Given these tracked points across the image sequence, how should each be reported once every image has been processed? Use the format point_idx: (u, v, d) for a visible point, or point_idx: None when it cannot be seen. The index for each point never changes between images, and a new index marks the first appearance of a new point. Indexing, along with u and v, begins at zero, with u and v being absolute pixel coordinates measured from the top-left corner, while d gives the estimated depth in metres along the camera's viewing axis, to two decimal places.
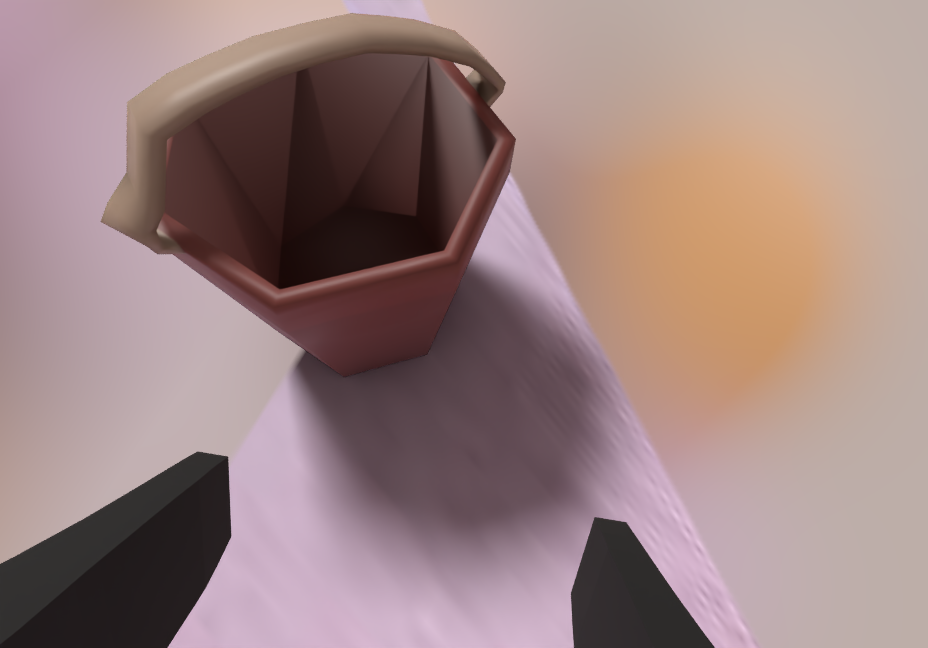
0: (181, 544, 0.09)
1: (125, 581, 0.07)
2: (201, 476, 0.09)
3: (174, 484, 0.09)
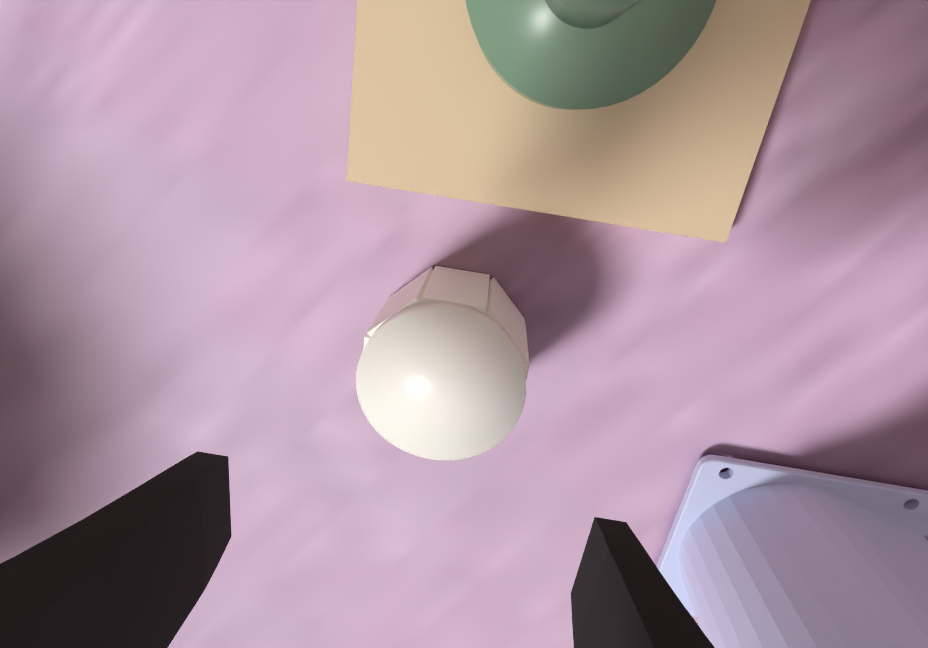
0: (181, 544, 0.09)
1: (125, 581, 0.07)
2: (201, 476, 0.09)
3: (174, 484, 0.09)
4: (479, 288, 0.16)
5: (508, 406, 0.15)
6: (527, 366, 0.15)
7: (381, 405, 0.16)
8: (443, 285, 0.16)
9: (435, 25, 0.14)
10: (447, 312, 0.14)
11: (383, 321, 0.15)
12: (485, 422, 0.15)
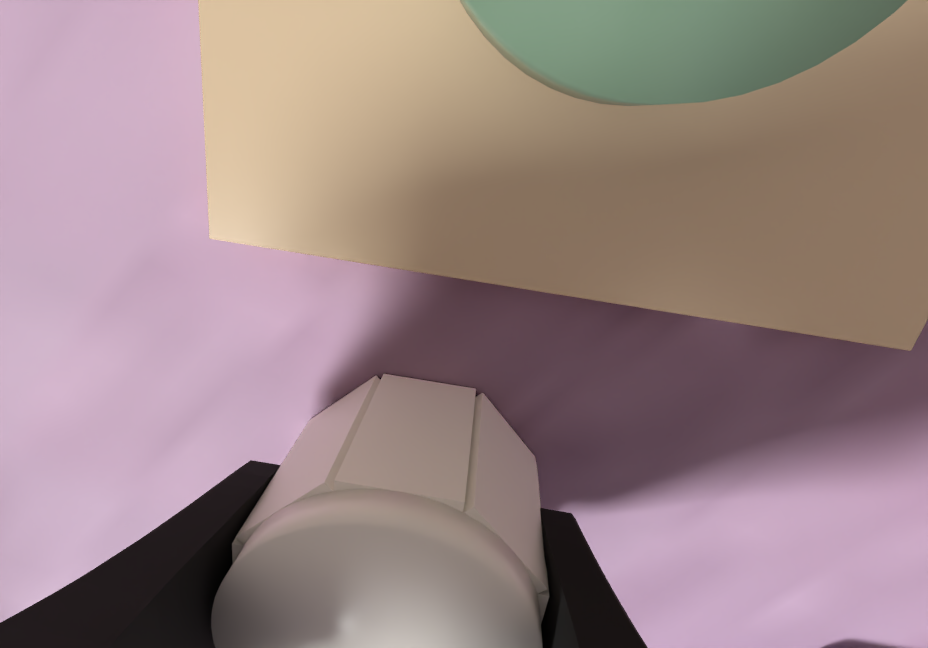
0: None
1: (195, 593, 0.07)
2: (260, 486, 0.09)
3: (235, 494, 0.09)
4: (455, 433, 0.09)
5: None
6: (544, 598, 0.08)
7: None
8: (387, 431, 0.09)
9: None
10: (380, 529, 0.07)
11: (264, 519, 0.08)
12: None
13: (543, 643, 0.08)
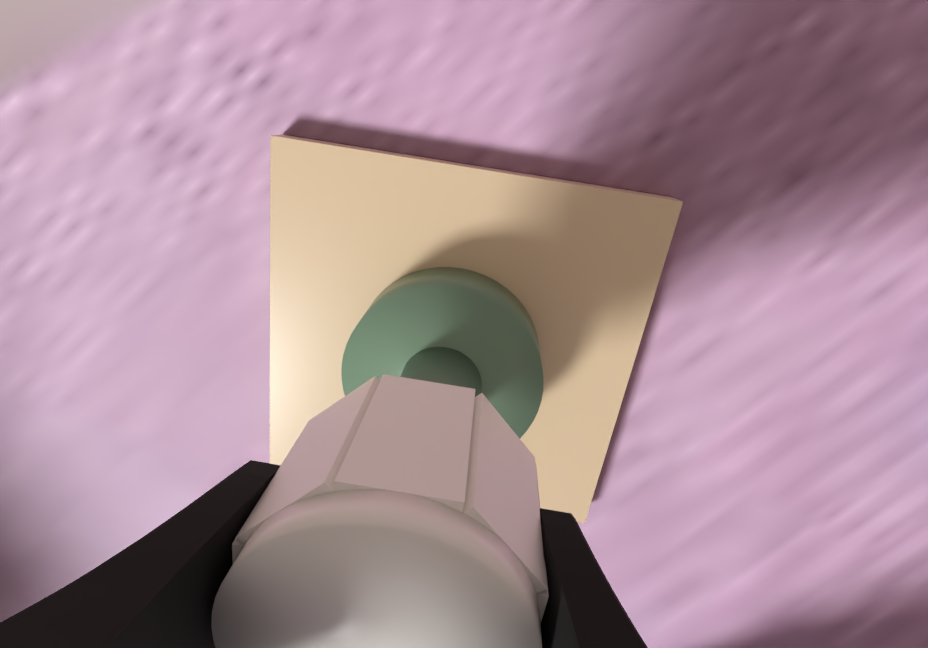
0: None
1: (195, 593, 0.07)
2: (260, 486, 0.09)
3: (235, 494, 0.09)
4: (454, 433, 0.09)
5: None
6: (544, 598, 0.08)
7: None
8: (386, 431, 0.09)
9: (334, 372, 0.18)
10: (380, 530, 0.07)
11: (264, 520, 0.08)
12: None
13: (543, 643, 0.08)
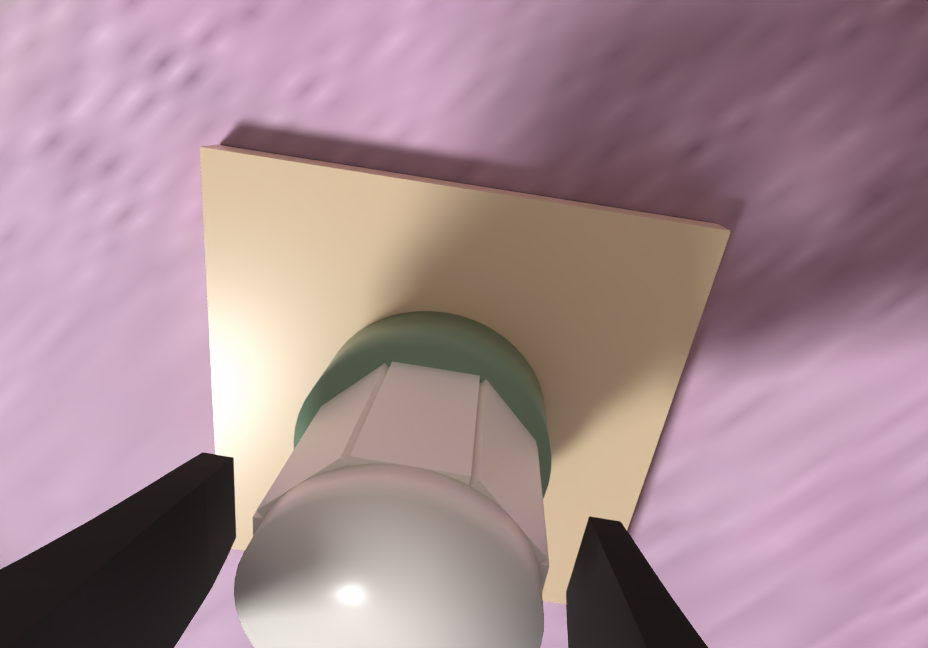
0: (187, 545, 0.09)
1: (132, 582, 0.07)
2: (207, 477, 0.09)
3: (180, 485, 0.09)
4: (460, 415, 0.10)
5: None
6: (545, 568, 0.09)
7: (284, 638, 0.09)
8: (397, 413, 0.09)
9: (292, 436, 0.14)
10: (393, 499, 0.07)
11: (284, 493, 0.08)
12: None
13: None
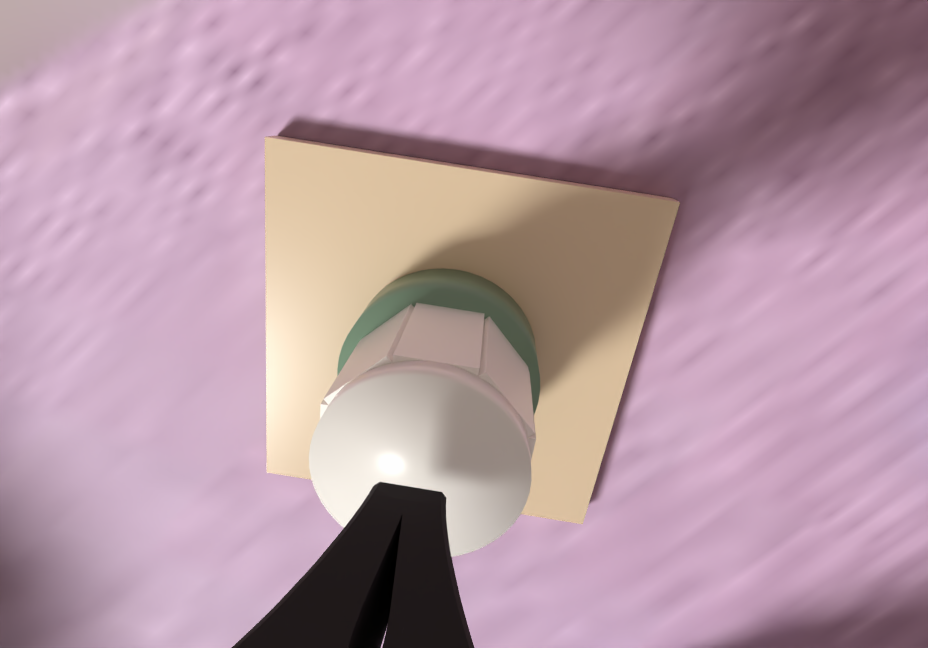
0: (388, 579, 0.09)
1: (367, 622, 0.07)
2: (402, 509, 0.09)
3: (383, 519, 0.09)
4: (470, 335, 0.13)
5: (508, 495, 0.12)
6: (533, 441, 0.12)
7: (343, 492, 0.12)
8: (423, 333, 0.13)
9: (330, 374, 0.18)
10: (426, 378, 0.11)
11: (344, 385, 0.12)
12: (478, 514, 0.12)
13: None
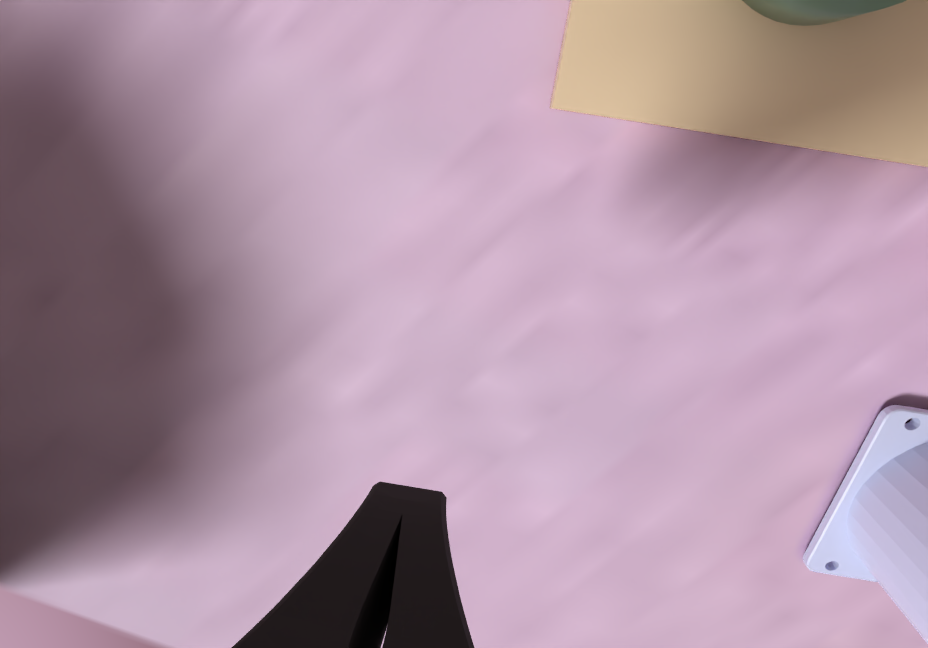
0: (388, 579, 0.09)
1: (367, 622, 0.07)
2: (402, 509, 0.09)
3: (383, 519, 0.09)
4: None
5: None
6: None
7: None
8: None
9: None
10: None
11: None
12: None
13: None
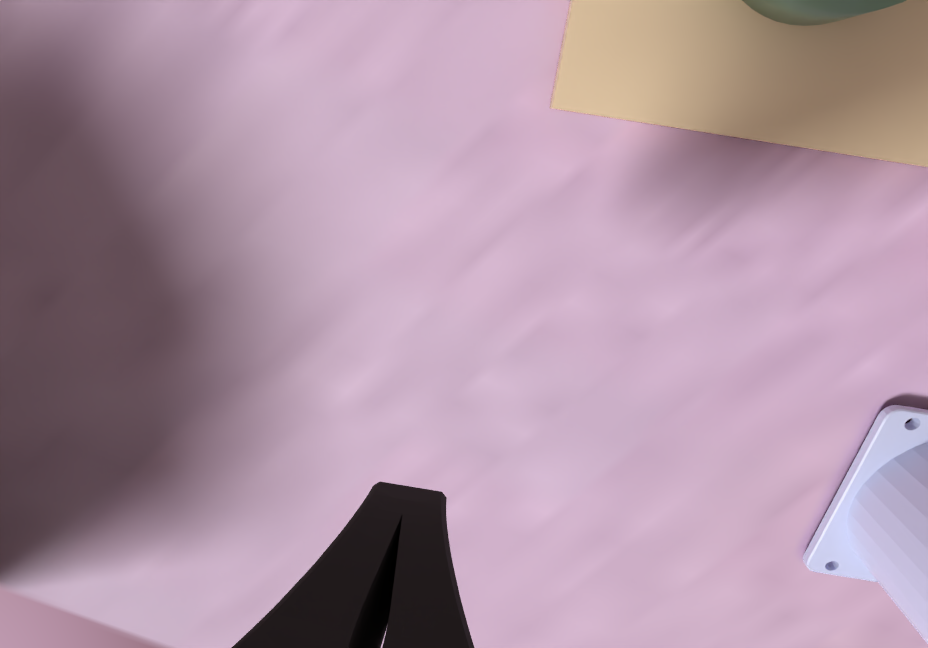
0: (388, 579, 0.09)
1: (367, 622, 0.07)
2: (402, 509, 0.09)
3: (383, 519, 0.09)
4: None
5: None
6: None
7: None
8: None
9: None
10: None
11: None
12: None
13: None
